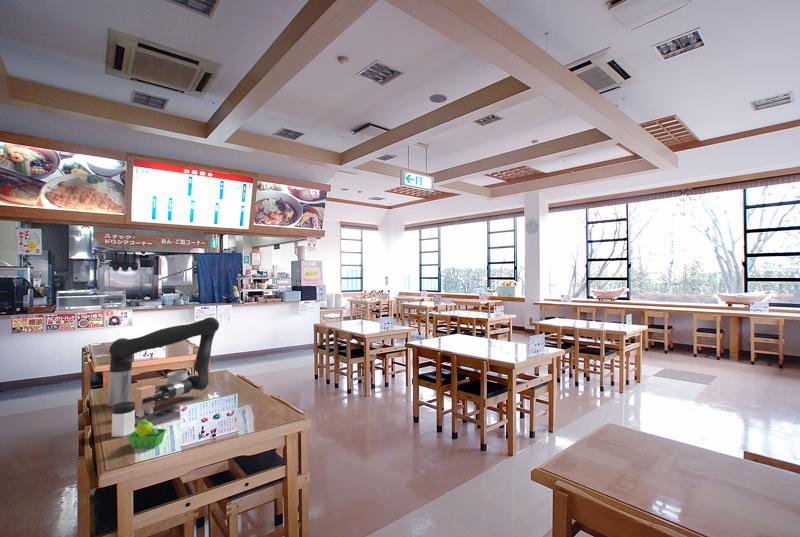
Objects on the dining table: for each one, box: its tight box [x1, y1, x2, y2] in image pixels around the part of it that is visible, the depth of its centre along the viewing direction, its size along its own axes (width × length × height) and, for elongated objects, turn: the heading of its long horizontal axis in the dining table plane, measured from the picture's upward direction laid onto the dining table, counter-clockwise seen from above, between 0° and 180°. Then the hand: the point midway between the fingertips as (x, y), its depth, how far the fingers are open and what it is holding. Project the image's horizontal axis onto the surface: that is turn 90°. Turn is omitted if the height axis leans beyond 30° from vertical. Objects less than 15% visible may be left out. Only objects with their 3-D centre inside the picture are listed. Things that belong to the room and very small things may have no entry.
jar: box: [111, 401, 136, 438], centre depth 168 cm, size 9×8×12 cm
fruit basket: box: [127, 419, 167, 449], centre depth 157 cm, size 11×9×11 cm
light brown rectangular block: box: [134, 384, 156, 418], centre depth 190 cm, size 7×4×13 cm, turn 160°
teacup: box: [166, 369, 189, 384], centre depth 240 cm, size 14×11×8 cm
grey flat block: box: [135, 404, 181, 427], centre depth 186 cm, size 20×9×2 cm, turn 160°
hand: (139, 400), depth 187 cm, fingers closed on light brown rectangular block, 4 cm apart
